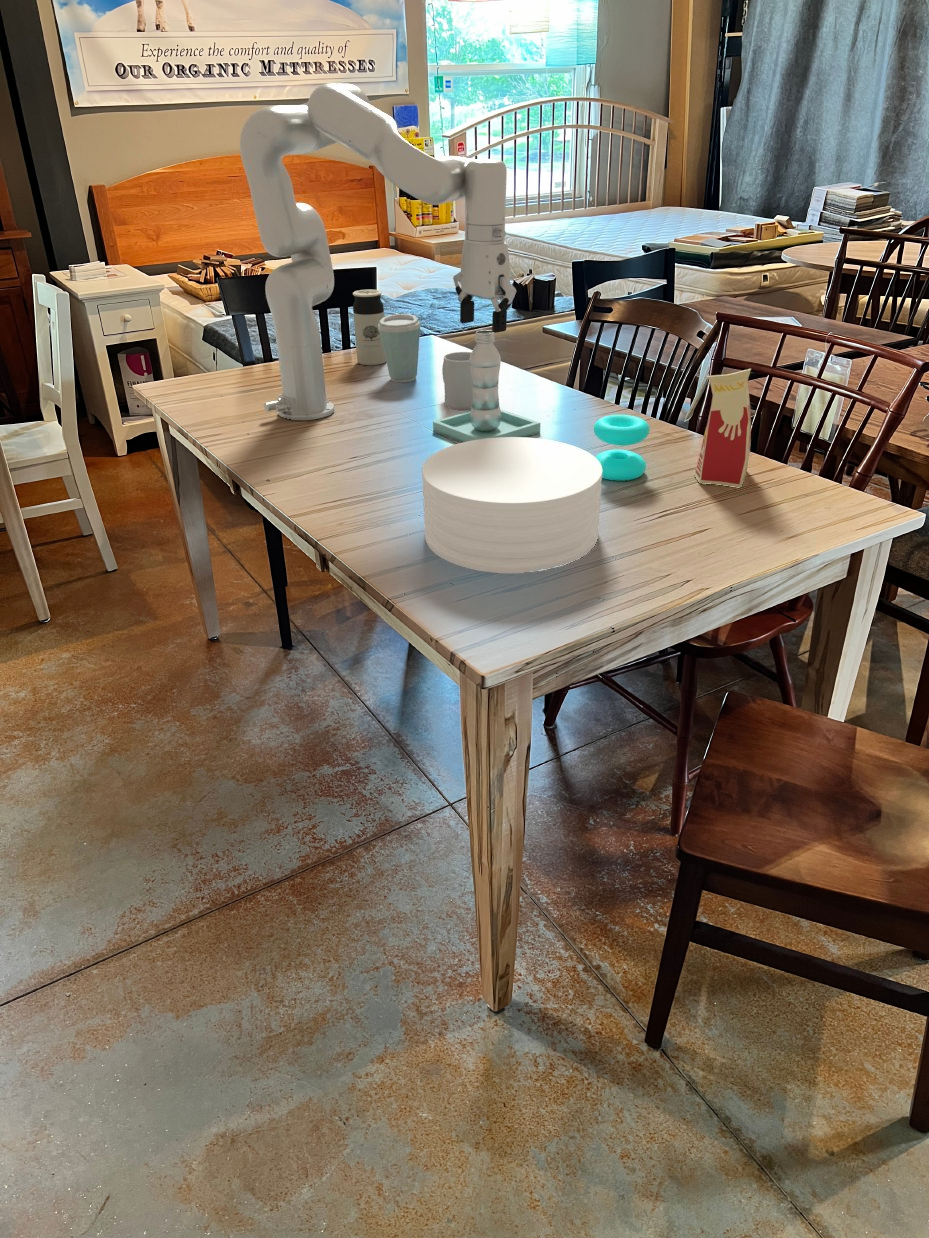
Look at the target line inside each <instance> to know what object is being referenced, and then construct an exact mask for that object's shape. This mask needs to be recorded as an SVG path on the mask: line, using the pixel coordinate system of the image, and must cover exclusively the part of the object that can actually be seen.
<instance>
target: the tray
mask: <svg viewBox="0 0 929 1238" xmlns="http://www.w3.org/2000/svg"><path fill="white" fill-rule="evenodd" d="M500 410H501V422H500V425H499V427H498V428H497V429H494V430H490V431H480V430H476V429H474V428H473V426H472V425H471V420H470V413H471V410H470V411H469V410H468V411H466V412H463V413H459V414H455V415H452V416H448V417H445V418H441V419H438V420H434V421H432V430H433V433H436V434H437V435H438V434H439V435H441V436H443V437H446V438H448V439H451V440H454V441H456V442H458V443H463V442H467V441H472V440H478V439H486V438H498V437H527V438H530V437H532V436H535V435H538V434H541V422H539V421H536V420H534V419H531V418H528V417H524V416H523V415H522V416H521V415H519V414H515V413H512V412H510V411H507V410H504V409H502V408H500Z"/></svg>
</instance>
